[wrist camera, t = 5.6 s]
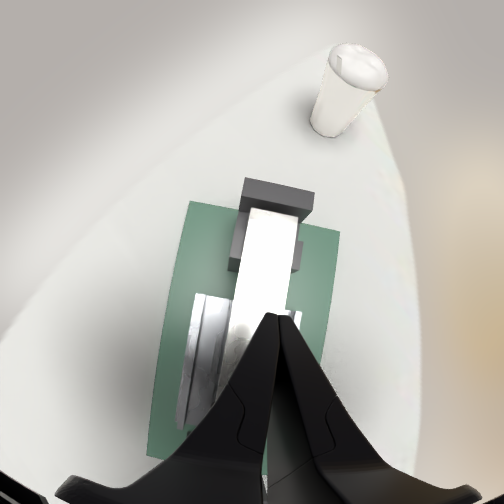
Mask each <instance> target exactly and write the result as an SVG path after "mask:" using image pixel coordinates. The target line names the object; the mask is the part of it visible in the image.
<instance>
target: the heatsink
mask: <svg viewBox="0 0 504 504" xmlns="http://www.w3.org/2000/svg"><path fill="white" fill-rule="evenodd" d="M232 306H233V300H230V299H225V298H217V297H212V296H207V295H204V294H197V293H196V295H195V301H194V306H193V311H192V317H191V322H190V328H189V333H188V339H187V345H186V351H185V357H184V363H183V369H182V375H181V382H180V388H179V395H178V402H177V409H176V416H175V421H176V422H178V423H177V429H180V430H183V428H184V425H185V424H190V425H195V426H197V425H198V424H199V423H200V421H201V420H202V419H203V418H204V416H205V415H206V414H207V413H208V411H209V410H210V409H211V407H212V406H213V405H214V403H215V400H216V395H217V389H218V383H219V378H220V372H221V366H222V361H223V355H224V350H225V344H226V339H227V333H228V328H229V322H230V317H231V311H232ZM283 314H284V315H289V316H291V317H292V319H293V321H294V322H295V324H296V326H297V328H298V329H299V327H300V322H301V316H302V312H299V311H290V310H284V312H283Z"/></svg>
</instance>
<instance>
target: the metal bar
mask: <svg viewBox="0 0 504 504" xmlns="http://www.w3.org/2000/svg"><path fill="white" fill-rule="evenodd" d="M297 224H298V217H294V216H290V215H285V214H280V213H276V212H271V211H266V210H261V209H256V208H251V210H250V214H249V217H248V221H247V226H246V229H247V231H246V236H245V241H244V247H243V252H242V257H241V263H240V268H239V273H238V279H237V284H236V289H235V295H234V300H233V306H232V311H231V317H230V322H229V328H228V333H227V339H226V344H225V350H224V355H223V361H222V366H221V372H220V378H219V383H218V389H217V395H216V400H217V398H218V397H219V395H220V393H221V392H222V390H223V388H224V386H225V385H226V384H227V381H228V380H229V378H230V376H231V374H232V372H233V371H234V369H235V367H236V365H237V363H238V362H239V360H240V358H241V356H242V354H243V352H244V351H245V349H246V347H247V345H248V343H249V341H250V340H251V338H252V336H253V334H254V332H255V330H256V328H257V326H258V325H259V323H260V321H261V319H262V317H263V315H264V313H265V312H272V313H277V314H283V312H284V307H285V301H286V295H287V289H288V283H289V276H290V270H291V264H292V257H293V251H294V244H295V238H296V231H297ZM216 400H215V401H216Z"/></svg>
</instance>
